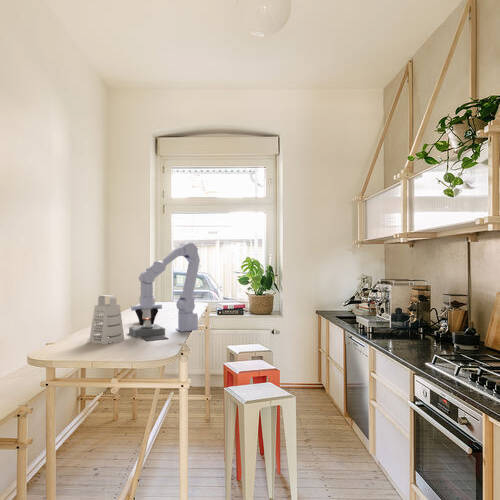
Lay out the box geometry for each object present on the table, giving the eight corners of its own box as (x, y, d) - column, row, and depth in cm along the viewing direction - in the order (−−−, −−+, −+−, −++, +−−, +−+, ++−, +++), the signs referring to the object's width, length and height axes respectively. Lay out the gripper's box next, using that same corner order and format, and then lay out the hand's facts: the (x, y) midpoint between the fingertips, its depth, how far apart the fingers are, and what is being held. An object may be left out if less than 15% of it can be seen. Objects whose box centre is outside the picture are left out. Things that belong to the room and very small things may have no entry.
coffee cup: (135, 322, 237) (135, 295, 237) (144, 319, 246) (144, 294, 246) (150, 323, 234) (150, 296, 234) (158, 320, 243) (159, 294, 243)
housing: (157, 330, 210) (157, 323, 210) (165, 334, 200) (165, 327, 200) (129, 333, 203) (129, 326, 203) (135, 337, 193) (135, 330, 193)
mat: (161, 335, 198) (161, 334, 198) (168, 339, 189) (168, 338, 189) (140, 337, 193) (140, 336, 193) (146, 341, 184) (146, 340, 184)
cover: (150, 331, 205) (150, 317, 205) (152, 333, 201) (153, 318, 201) (140, 332, 202) (140, 318, 202) (143, 334, 198) (143, 319, 198)
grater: (105, 344, 177) (105, 297, 178) (89, 341, 183) (89, 295, 183) (124, 340, 186) (124, 295, 187) (108, 337, 192) (108, 294, 192)
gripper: (133, 297, 195) (133, 327, 194) (164, 296, 202) (163, 324, 202) (129, 296, 201) (129, 325, 201) (159, 295, 208) (159, 322, 208)
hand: (146, 324), depth 202 cm, fingers closed on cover, 5 cm apart
